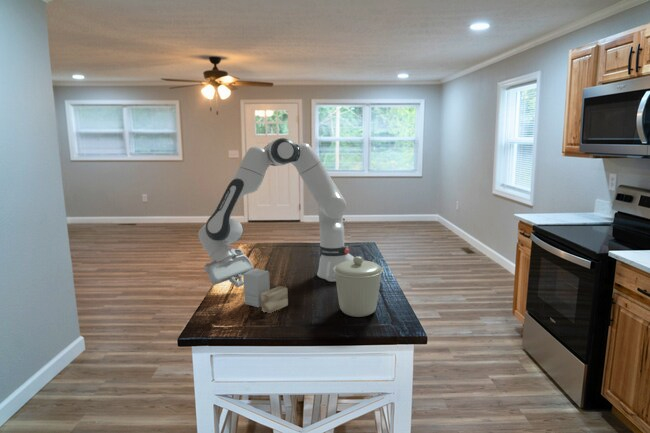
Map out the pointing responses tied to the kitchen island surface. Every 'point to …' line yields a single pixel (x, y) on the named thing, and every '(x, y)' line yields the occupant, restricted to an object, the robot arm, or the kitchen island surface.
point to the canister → (358, 286)
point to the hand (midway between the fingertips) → (240, 285)
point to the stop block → (274, 299)
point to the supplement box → (255, 286)
